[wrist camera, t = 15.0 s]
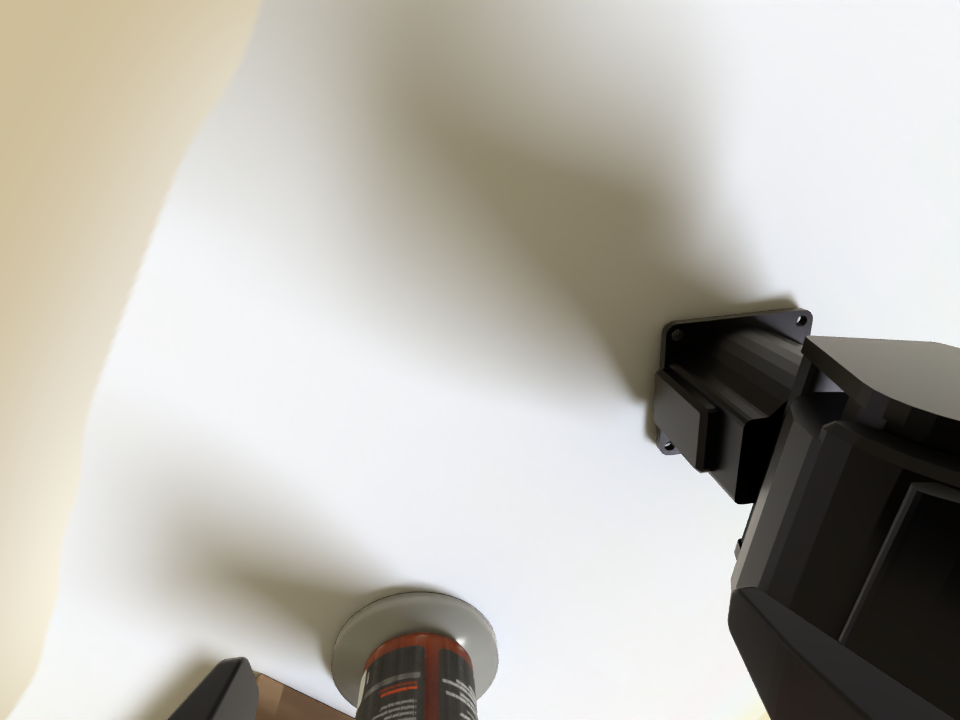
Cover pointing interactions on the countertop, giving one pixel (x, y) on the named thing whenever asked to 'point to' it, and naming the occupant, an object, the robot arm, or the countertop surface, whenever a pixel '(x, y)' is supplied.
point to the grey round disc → (411, 617)
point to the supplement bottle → (418, 680)
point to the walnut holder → (290, 704)
